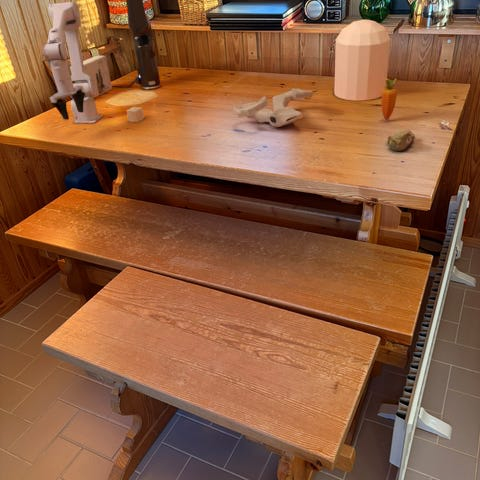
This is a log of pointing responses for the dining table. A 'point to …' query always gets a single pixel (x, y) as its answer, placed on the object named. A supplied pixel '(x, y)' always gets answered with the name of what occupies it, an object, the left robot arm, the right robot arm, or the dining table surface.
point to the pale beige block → (135, 114)
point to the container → (361, 61)
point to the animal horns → (280, 112)
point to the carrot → (388, 99)
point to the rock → (400, 140)
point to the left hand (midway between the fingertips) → (73, 115)
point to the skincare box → (98, 73)
